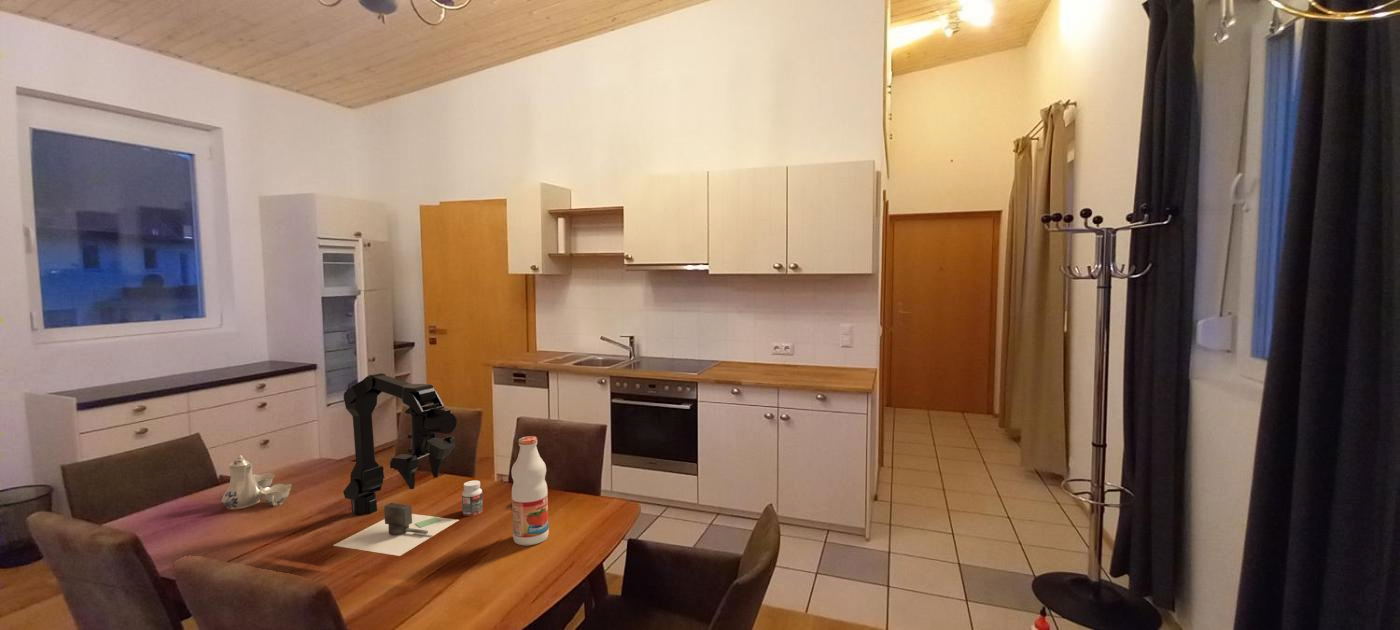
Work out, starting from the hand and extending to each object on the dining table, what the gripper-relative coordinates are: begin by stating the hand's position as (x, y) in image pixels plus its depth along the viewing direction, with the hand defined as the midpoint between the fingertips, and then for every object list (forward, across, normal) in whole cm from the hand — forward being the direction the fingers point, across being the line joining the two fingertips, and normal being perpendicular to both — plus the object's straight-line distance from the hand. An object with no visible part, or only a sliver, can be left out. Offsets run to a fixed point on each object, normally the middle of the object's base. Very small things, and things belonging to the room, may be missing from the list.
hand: (424, 483), depth 161 cm
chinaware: (+15, +4, +70) cm, 71 cm away
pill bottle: (+13, +11, -8) cm, 19 cm away
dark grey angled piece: (+12, -6, +1) cm, 13 cm away
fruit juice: (+13, +1, -33) cm, 36 cm away
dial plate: (+13, -6, +4) cm, 15 cm away
